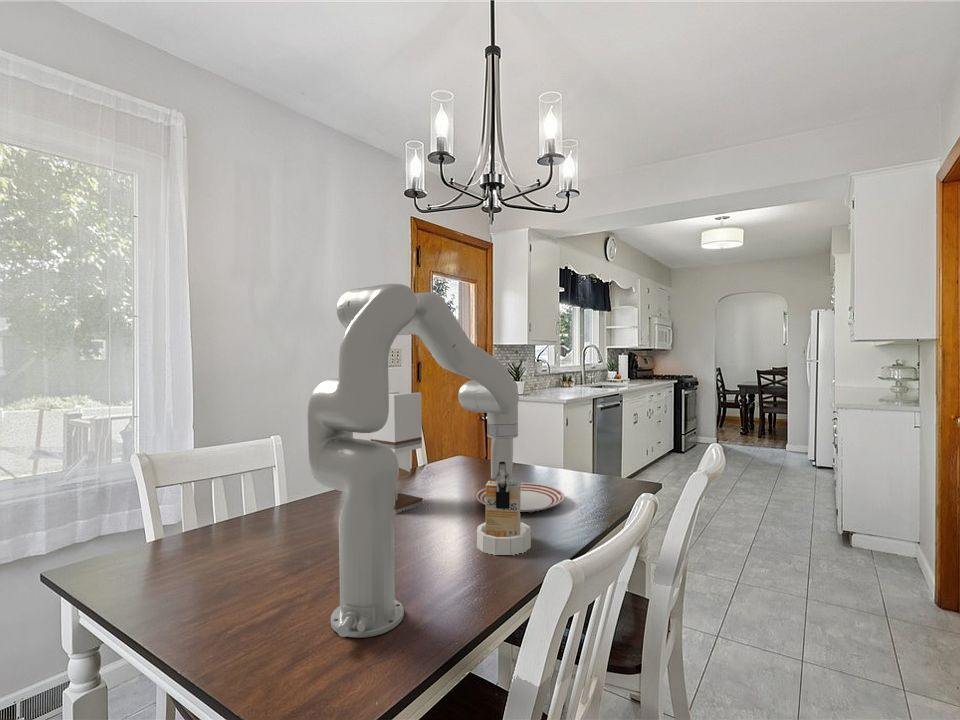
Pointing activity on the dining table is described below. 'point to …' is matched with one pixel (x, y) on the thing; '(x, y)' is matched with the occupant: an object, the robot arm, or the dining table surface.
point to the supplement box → (503, 511)
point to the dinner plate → (532, 497)
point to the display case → (402, 440)
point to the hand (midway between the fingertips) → (503, 503)
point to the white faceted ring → (504, 541)
